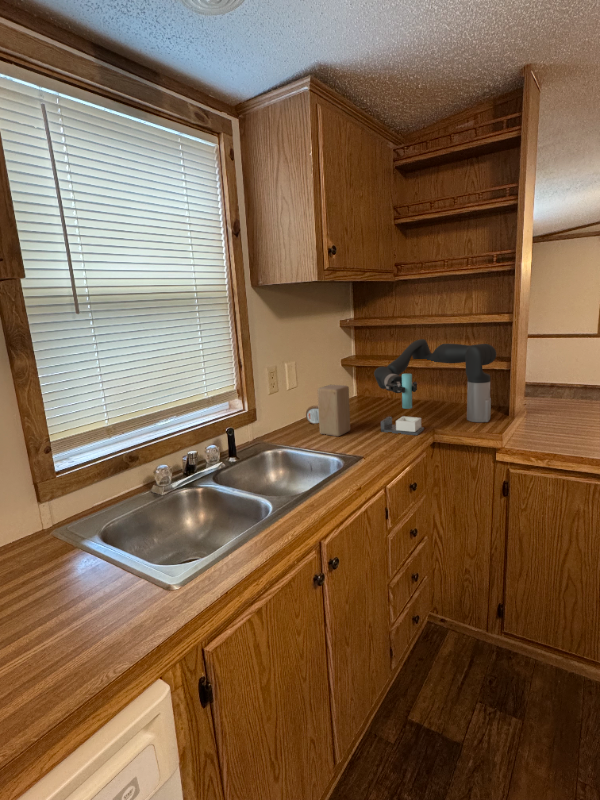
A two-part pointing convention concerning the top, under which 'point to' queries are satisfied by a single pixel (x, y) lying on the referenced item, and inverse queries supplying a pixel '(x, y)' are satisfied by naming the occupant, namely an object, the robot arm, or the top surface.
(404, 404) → the dowel
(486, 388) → the robot arm
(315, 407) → the tin
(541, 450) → the top surface
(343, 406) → the wooden block
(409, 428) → the socket block
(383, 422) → the grey tray
